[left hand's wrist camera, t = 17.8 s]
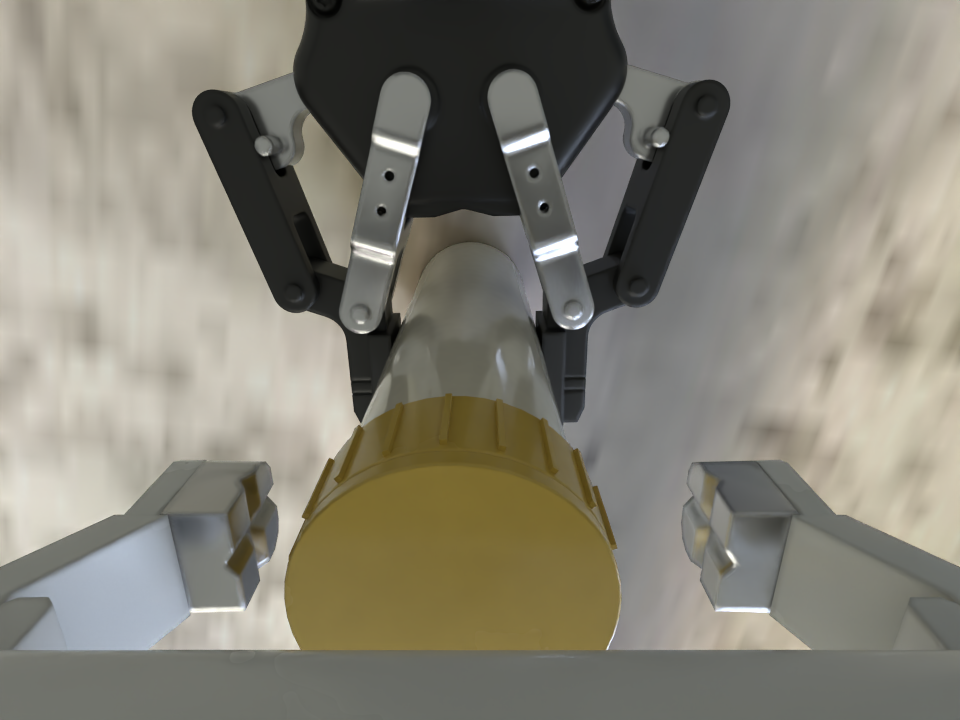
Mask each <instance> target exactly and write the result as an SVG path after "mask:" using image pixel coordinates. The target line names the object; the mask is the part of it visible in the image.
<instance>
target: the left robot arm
mask: <svg viewBox="0 0 960 720" xmlns="http://www.w3.org/2000/svg"><path fill="white" fill-rule="evenodd" d="M272 486H273V478H272V473H271V468H270V466H269V465H268V464H267V463H266V462H262V461H211V460H210V461H206V460H181V461H175V462H173V463H172V464H171V465H170V466H169V467H168V468H167V469H166V470H165V471H164V472H163V474H162V475H161V476H160V477H159V478H158V479H157V480H156V481H155V482H154V483H153V484H152V485H151V486H150V487H149V489H148V490H147V491H146V492H145V493H144V494H143V495H142V496H141V497H140V498H139V499H138V500H137V501H136V502H135V504H134V505H133V506H132V507H131V508H130V509H129V510H128V511H127V512H126V513H125V514H124V515H113V516H111V517H109V518H106V519H104V520H102V521H100V522H98V523H95V524H93V525H91V526H89V527H87V528H85V529H82V530H80V531H78V532H76V533H74V534H71V535H69V536H67V537H65V538H63V539H61V540H58V541H56V542H54V543H52V544H50V545H47V546H45V547H43V548H41V549H39V550H37V551H34V552H32V553H30V554H28V555H26V556H23V557H21V558H19V559H17V560H15V561H12V562H10V563H8V564H6V565H4V566H2V567H0V720H960V567H958V566H956V565H954V564H952V563H949V562H947V561H945V560H943V559H941V558H939V557H936V556H934V555H932V554H930V553H928V552H925V551H923V550H921V549H919V548H917V547H915V546H912V545H910V544H908V543H906V542H904V541H901V540H899V539H897V538H895V537H893V536H891V535H888V534H886V533H884V532H882V531H880V530H878V529H875V528H873V527H871V526H869V525H867V524H864V523H862V522H860V521H858V520H856V519H854V518H851V517H849V516H847V515H836V514H835V513H834V512H833V511H832V510H831V509H830V508H829V507H828V506H827V505H826V504H825V502H824V501H823V500H822V499H821V498H820V497H819V496H818V495H817V494H816V493H815V492H814V491H813V490H812V488H811V487H810V486H809V485H808V484H807V483H806V482H805V481H804V480H803V479H802V478H801V477H800V476H799V475H798V473H797V472H796V471H795V470H794V469H793V468H792V467H791V466H790V465H789V464H788V463H787V462H785V461H782V460H763V461H726V462H695V463H692V464H691V467H690V469H689V472H688V478H687V486H688V488H689V489H690V491H691V493H692V495H693V496H692V497H691V498H690V499H689V500H688V502H687V503H686V504H685V505H684V506H683V512H682V521H681V526H682V539H683V543H684V546H685V550H686V552H687V554H688V557H689V559H690V561H691V562H693V563H694V564H696V565H697V566H698V567H700V568H701V569H702V571H701V577H700V581H701V583H702V585H703V587H704V589H705V592H706V594H707V596H708V598H709V600H710V602H711V604H712V606H713V608H714V610H715V611H737V612H770V614H769V615H770V616H771V617H773V618H774V619H775V620H776V621H778V622H779V623H780V624H781V625H782V626H784V627H785V628H786V629H787V630H789V631H790V632H791V633H792V634H794V635H795V636H796V637H797V638H798V639H800V640H801V641H802V642H803V643H805V644H806V645H807V646H808V647H809V648H811V649H812V650H148V649H149V648H151V647H152V646H153V645H154V644H156V643H157V642H158V641H159V640H161V639H162V638H163V637H164V636H165V635H167V634H168V633H169V632H170V631H172V630H173V629H174V628H175V627H177V626H178V625H179V624H180V623H181V622H183V621H184V620H185V619H186V618H188V617H189V616H190V612H222V611H245V610H246V608H247V606H248V604H249V602H250V600H251V598H252V596H253V594H254V592H255V590H256V588H257V585H258V583H259V581H260V577H259V571H258V569H259V568H260V567H262V566H263V565H264V564H266V563H267V562H269V561H270V559H271V556H272V554H273V552H274V550H275V546H276V542H277V537H278V521H279V518H278V511H277V506H276V505H275V504H274V503H273V502H272V500H271V499H270V498H269V497H268V496H267V495H268V493H269V491H270V489H271V488H272Z"/></svg>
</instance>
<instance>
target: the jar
mask: <svg viewBox="0 0 960 720" xmlns="http://www.w3.org/2000/svg"><path fill="white" fill-rule="evenodd" d="M446 393H452V396H471V397H479V398H486V399H490V400H495V401H496V399H497V398H498V399H502V400H503V403H506V404H508V405H511V406H514V407H516V408H519V409H522V410H524V411H526V412H527V413H529V414H531V415H533V416H535V417H537V418H539V419H540V420H541V419H542V418H544V419H546V420H547V421H548V424H549V426H550V427H552V428H553V429H554V430H555V431H556V432H557V433H558V434H560V435H561V436H562V437H563V438H564V439H565V440H566V437H565V433H564V429H563V426H562V422H561V419H560V415H559V411H558V408H557V404H556V400H555V397H554V393H553V389H552V386H551V382H550V379H549V375H548V371H547V368H546V364H545V360H544V357H543V353H542V349H541V346H540V342H539V339H538V335H537V331H536V328H535V324H534V320H533V317H532V313H531V309H530V306H529V302H528V299H527V295H526V291H525V288H524V284H523V280H522V277H521V275H520V272H519V271H518V269H517V267H516V266H515V264H514V263H513V261H512V260H511V259H510V258H509V257H508V256H507V255H505V254H504V253H503V252H501V251H500V250H498V249H496V248H494V247H492V246H490V245H486V244H483V243H477V242H465V243H459V244H455V245H452V246H450V247H447V248H446V249H444V250H442V251H440V252H439V253H438V254H437V255H435V256H434V257H433V258H432V259H431V260H430V262H429V263H428V264H427V266H426V267H425V269H424V271H423V273H422V275H421V278H420V280H419V283H418V285H417V288H416V290H415V292H414V295H413V297H412V300H411V302H410V305H409V307H408V310H407V312H406V315H405V317H404V320H403V322H402V325H401V327H400V329H399V332H398V334H397V337H396V339H395V342H394V344H393V347H392V349H391V352H390V354H389V357H388V359H387V361H386V364H385V366H384V369H383V371H382V374H381V376H380V379H379V381H378V384H377V386H376V389H375V391H374V394H373V396H372V398H371V401H370V403H369V406H368V408H367V411H366V413H365V416H364V418H363V421H362V423H361V427H363V426H364V425H366V424H367V423H369V422H370V421H371V420H373V419H374V418H376V417H378V416H380V415H381V414H383V413H385V412H387V411H389V410H391V409H394V408H395V406H396V404H398V403H401V402H402V404H403V405H404V404H407V403H410V402H414V401H418V400H422V399H426V398H433V397H442V396H445V394H446ZM566 441H567V440H566Z"/></svg>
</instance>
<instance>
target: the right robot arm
mask: <svg viewBox="0 0 960 720" xmlns="http://www.w3.org/2000/svg"><path fill="white" fill-rule="evenodd" d="M613 105H614V106H615V107H617V108H618V109H619V110H620V112H621V113H622V115H623V118H624V123H625V128H624V134H623V144H624V147H625V149H626V151H627V152H628V153H629V154H630V155H631V156H632V157H634V158H637V161H636V164H635V166H634V169H633V172H632V175H631V178H630V181H629V184H628V187H627V190H626V192H625V195H624V198H623V201H622V204H621V207H620V210H619V213H618V215H617V218H616V221H615V224H614V227H613V230H612V233H611V236H610V238H609V241H608V244H607V247H606V250H605V253H604V256H603V257H602V258H600V259H597V260H594V261H592V262H589V263H586V264H584V265H583V262H582V259H581V255H580V252H579V247H578V239H577V234H576V230H575V227H574V223H573V219H572V216H571V212H570V209H569V205H568V201H567V198H566V194H565V190H564V187H563V183H562V180H561V178H562V176H563V175H564V174H565V172H566V171H567V169H568V168H569V167H570V165H571V164H572V162H573V161H574V160H575V158H576V157H577V155H578V154H579V153H580V151H581V150H582V148H583V147H584V146H585V144H586V143H587V141H588V140H589V139H590V137H591V136H592V134H593V133H594V132H595V130H596V129H597V127H598V126H599V125H600V123H601V122H602V120H603V119H604V118H605V116H606V115H607V113H608V112H609V111H610V109H611V108H612V106H613ZM729 109H730V96H729V93H728V91H727V89H726V88H725V86H724V85H722V84H721V83H720V82H718V81H715V80H703V81H693V82H683V81H680V80H676V79H673V78H670V77H667V76H663V75H660V74H657V73H654V72H650V71H647V70H644V69H641V68H637V67H634V66H631V65H628V64H627V56H626V52H625V48H624V46H623V44H622V42H621V40H620V38H619V35H618V33H617V30H616V28H615V24H614V21H613V16H612V11H611V0H306V21H305V28H304V32H303V36H302V39H301V42H300V45H299V47H298V50H297V52H296V55H295V59H294V65H293V73H290V74H287V75H284V76H282V77H279V78H276V79H273V80H271V81H268V82H265V83H262V84H260V85H257V86H254V87H251V88H248V89H246V90H243V91H240V92H237V93H234V92H227V91H220V90H206V91H204V92H202V93H200V94H199V95H198V96H197V97H196V99H195V101H194V103H193V107H192V116H193V120H194V123H195V125H196V127H197V130H198V132H199V134H200V136H201V138H202V141H203V143H204V145H205V147H206V149H207V152H208V154H209V156H210V158H211V160H212V163H213V165H214V167H215V169H216V171H217V174H218V176H219V178H220V180H221V182H222V185H223V187H224V189H225V191H226V193H227V196H228V198H229V200H230V202H231V204H232V207H233V209H234V211H235V213H236V215H237V217H238V220H239V222H240V224H241V226H242V228H243V231H244V233H245V235H246V237H247V239H248V242H249V244H250V246H251V248H252V250H253V253H254V255H255V257H256V259H257V261H258V264H259V266H260V268H261V270H262V272H263V275H264V277H265V279H266V281H267V283H268V286H269V288H270V290H271V292H272V294H273V297H274V299H275V301H276V302H277V303H278V305H279V306H280V307H281V308H283V309H284V310H286V311H288V312H292V313H301V312H304V311H309V312H313V313H316V314H319V315H322V316H325V317H328V318H330V319H332V320H334V321H335V322H336V323H337V324H338V325H339V326H340V327H341V328H342V329H343V331H344V333H345V336H346V341H347V350H348V359H349V369H350V378H351V387H352V393H353V395H352V396H353V406H354V412H355V414H356V415H357V417H358V419H359V421H360V423H362V421H363V418H364V416H365V413H366V411H367V408H368V406H369V403H370V401H371V398H372V396H373V394H374V391H375V389H376V386H377V384H378V381H379V379H380V376H381V374H382V371H383V369H384V366H385V364H386V361H387V359H388V357H389V354H390V352H391V349H392V347H393V344H394V342H395V339H396V337H397V334H398V332H399V329H400V327H401V318H400V313H393V312H392V298H393V295H394V291H395V286H396V282H397V278H398V274H399V270H400V266H401V262H402V258H403V254H404V250H405V247H406V243H407V241H408V237H409V234H410V230H411V226H412V222H413V218H419V217H437V216H440V215H444V214H447V213H450V212H454V211H457V210H460V209H468V210H472V211H476V212H480V213H484V214H488V215H491V216H515V215H520V219H521V222H522V225H523V228H524V231H525V235H526V238H527V241H528V244H529V247H530V250H531V253H532V256H533V260H534V263H535V266H536V269H537V273H538V276H539V279H540V282H541V286H542V289H543V311H536V331H537V335H538V339H539V342H540V346H541V349H542V353H543V357H544V360H545V364H546V368H547V371H548V375H549V379H550V382H551V386H552V389H553V393H554V397H555V400H556V404H557V408H558V411H559V415H560V419H561V422H562V426H563V422H578V420H579V418H580V415H581V413H582V411H583V409H584V405H585V384H586V379H585V377H586V363H587V341H588V332H589V329H590V326H591V325H592V323H593V322H594V321H595V319H596V318H598V317H599V316H600V315H602V314H603V313H606V312H608V311H611V310H614V309H616V308H619V307H622V306H625V305H627V306H630V307H642V306H645V305H647V304H649V303H650V302H652V301H653V300H654V299H655V297H656V296H657V294H658V292H659V289H660V287H661V284H662V281H663V279H664V276H665V274H666V271H667V269H668V266H669V263H670V261H671V258H672V256H673V253H674V251H675V248H676V246H677V243H678V240H679V238H680V235H681V233H682V230H683V228H684V225H685V222H686V220H687V217H688V215H689V212H690V210H691V207H692V205H693V202H694V199H695V197H696V194H697V192H698V189H699V187H700V184H701V181H702V179H703V176H704V174H705V171H706V169H707V166H708V164H709V161H710V158H711V156H712V153H713V151H714V148H715V146H716V143H717V140H718V138H719V135H720V133H721V130H722V128H723V125H724V123H725V120H726V117H727V115H728V112H729ZM310 113H311V114H312V116H313V117H314V118H315V119H316V121H317V122H318V123H319V124H320V126H321V127H322V128H323V129H324V131H325V132H326V133H327V134H328V136H329V137H330V138H331V139H332V141H333V142H334V143H335V144H336V146H337V147H338V148H339V149H340V151H341V152H342V153H343V155H344V156H345V157H346V158H347V160H348V161H349V162H350V163H351V165H352V166H353V167H354V168H355V170H356V171H357V172H358V173H359V175H360V176H361V177H362V178H363V180H364V181H363V185H362V190H361V195H360V199H359V204H358V209H357V213H356V218H355V223H354V228H353V232H352V237H351V256H350V261H349V266H348V268H346V267H343V266H340V265H336V264H333V263H332V261H331V258H330V256H329V253H328V251H327V248H326V246H325V244H324V241H323V239H322V236H321V234H320V231H319V229H318V226H317V224H316V222H315V219H314V217H313V214H312V212H311V209H310V207H309V204H308V202H307V200H306V197H305V195H304V192H303V190H302V187H301V185H300V182H299V180H298V178H297V175H296V173H295V170H294V168H293V165H295V164H297V163H298V162H299V161H300V160H301V158H302V156H303V154H304V141H303V136H302V126H303V122H304V120H305V118H306V117H307V116H308V115H309V114H310Z"/></svg>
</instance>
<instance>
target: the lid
mask: <svg viewBox="0 0 960 720" xmlns="http://www.w3.org/2000/svg"><path fill="white" fill-rule="evenodd" d="M302 518H304V519H305V521H304V523H303V525H302V528H301V530H300V532H299V534H298V537H297V539H296V541H295V543H294V545H293V548H292V550H291V552H290V554H289V562H288V565H287V571H286V576H285V591H284V599H285V606H286V612H287V618H288V621H289V624H290V627H291V630H292V633H293V635H294V637H295V639H296V641H297V643H298V645H299V647H300V649H301V650H607V649H608V647H609V645H610V643H611V641H612V639H613V636H614V634H615V631H616V627H617V624H618V620H619V617H620V609H621V600H622V596H621V580H620V576H619V572H618V567H617V563H616V560H615V557H614V554H613V551H612V550H614V549H617V545H616V542H615V539H614V536H613V532H612V529H611V526H610V523H609V520H608V517H607V514H606V511H605V508H604V505H603V502H602V499H601V496H600V493H599V490H598V486H594V487H593V486H592V483H591V481H590V478H589V476H588V473H587V471H586V468H585V465H584V462H583V458H582V455H581V452H580V451H579V449H578V448H577V449H575V450H573V448H572V447H571V446H570V445H569V444H568V442H567V441H566V440H565V439H564V438H563V437H562V436H561V435H560V434H558V433H557V432H556V431H555V430H554V429H553V428H552V427H550V426H549V424H548V421H547V420H546V419H544V418H542V419H541V420H540V419H539V418H537V417H535V416H533V415H531V414H529V413H527V412H526V411H524V410H522V409H519V408H516V407H514V406H511V405H508V404H506V403H503V400H502V399H498V398H497V399H496V401H495V400H490V399H486V398H479V397H471V396H452V393H446V394H445V396H442V397H433V398H426V399H422V400H418V401H414V402H410V403H407V404H404V405H403V404H402V402H401V403H398V404H396V406H395V408H394V409H391V410H389V411H387V412H385V413H383V414H381V415H380V416H378V417H376V418H374V419H373V420H371V421H370V422H369V423H367V424H366V425H364V426H363V427H361V426H360V425H358V426H357V427H356V428H355V429H354V431H353V434H352V436H351V438H350V439H349V440H348V441H347V442H346V443H345V444H344V446H343V447H342V448H341V450H340V451H339V452H338V453H337V455H336V457H335V459H334V460H333V459H331V458H329V459H328V461H327V463H326V465H325V467H324V470H323V472H322V474H321V476H320V478H319V480H318V483H317V485H316V487H315V489H314V491H313V493H312V495H311V498H310V500H309V502H308V504H307V506H306V508H305V511H304V513H303V515H302Z"/></svg>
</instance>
